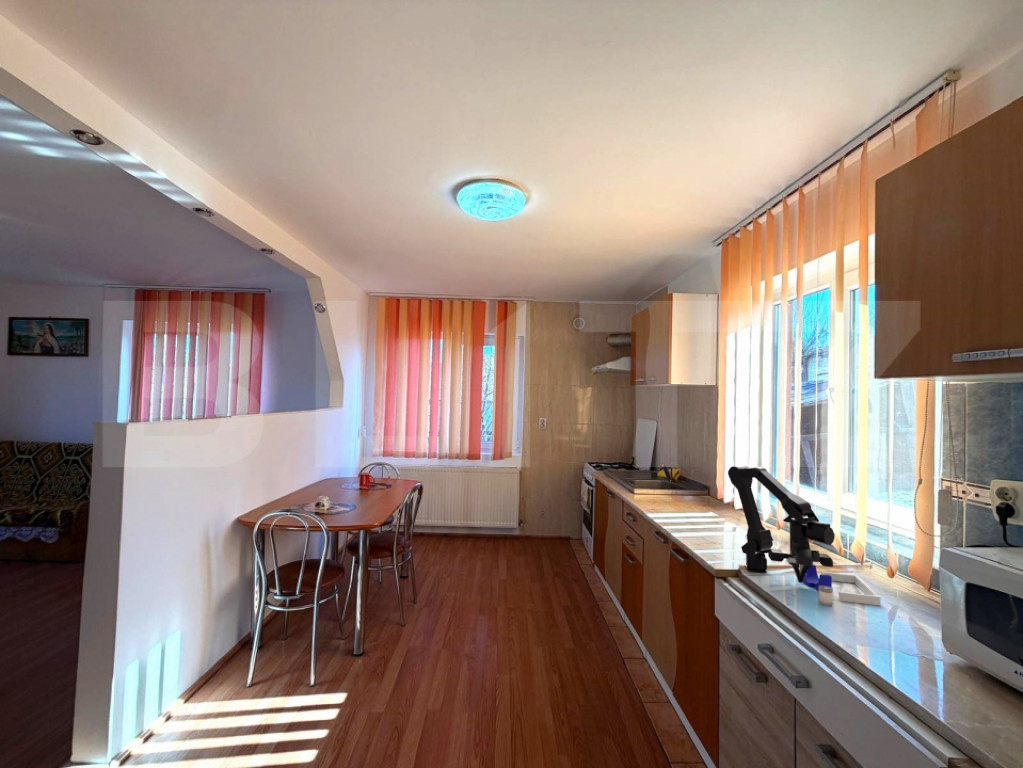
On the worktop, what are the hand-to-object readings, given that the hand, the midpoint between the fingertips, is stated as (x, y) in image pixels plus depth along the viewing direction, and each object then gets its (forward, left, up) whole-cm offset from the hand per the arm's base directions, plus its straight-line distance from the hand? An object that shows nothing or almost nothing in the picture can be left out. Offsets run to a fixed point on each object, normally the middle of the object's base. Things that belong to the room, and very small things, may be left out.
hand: (799, 582), depth 163 cm
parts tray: (+14, 0, -1) cm, 14 cm away
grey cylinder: (+4, -14, -1) cm, 14 cm away
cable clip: (+5, +1, -2) cm, 5 cm away
